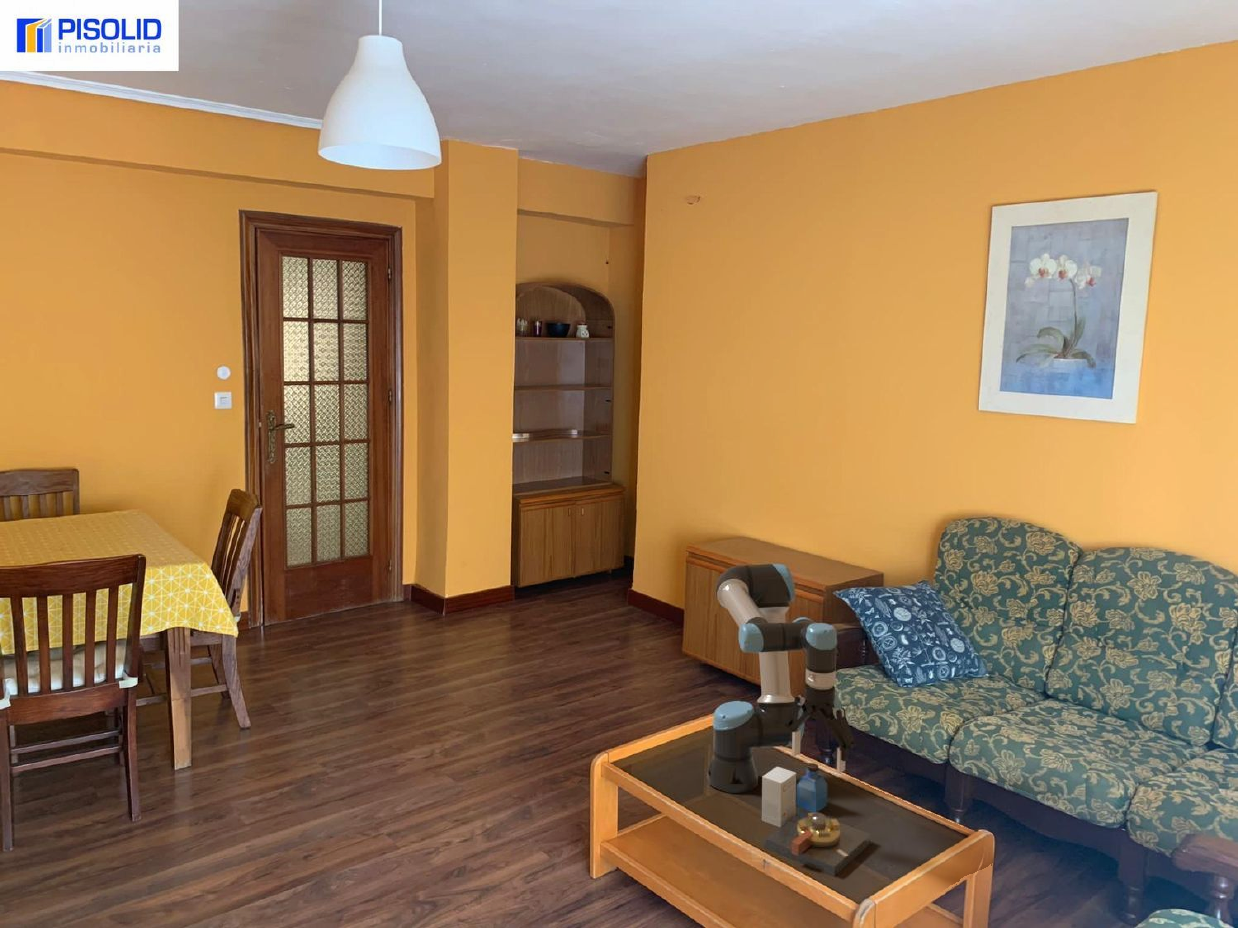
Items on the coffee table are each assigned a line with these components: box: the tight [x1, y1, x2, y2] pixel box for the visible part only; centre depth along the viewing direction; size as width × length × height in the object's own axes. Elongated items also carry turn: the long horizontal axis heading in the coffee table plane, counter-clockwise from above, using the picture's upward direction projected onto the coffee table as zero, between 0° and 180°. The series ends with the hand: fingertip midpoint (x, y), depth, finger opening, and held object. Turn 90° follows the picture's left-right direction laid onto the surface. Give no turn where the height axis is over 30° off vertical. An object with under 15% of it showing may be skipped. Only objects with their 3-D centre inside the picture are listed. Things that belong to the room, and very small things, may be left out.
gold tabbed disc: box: [791, 813, 840, 856], centre depth 240 cm, size 18×11×4 cm, turn 139°
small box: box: [761, 766, 797, 828], centre depth 256 cm, size 8×6×13 cm
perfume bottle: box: [796, 762, 829, 813], centre depth 263 cm, size 6×6×12 cm
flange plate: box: [764, 809, 872, 877], centre depth 243 cm, size 20×20×8 cm
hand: (817, 762), depth 242 cm, fingers open, 13 cm apart
